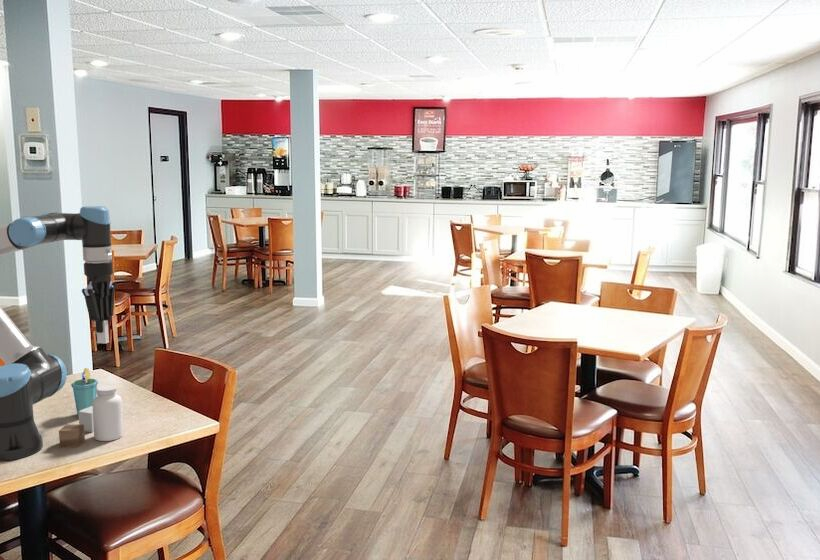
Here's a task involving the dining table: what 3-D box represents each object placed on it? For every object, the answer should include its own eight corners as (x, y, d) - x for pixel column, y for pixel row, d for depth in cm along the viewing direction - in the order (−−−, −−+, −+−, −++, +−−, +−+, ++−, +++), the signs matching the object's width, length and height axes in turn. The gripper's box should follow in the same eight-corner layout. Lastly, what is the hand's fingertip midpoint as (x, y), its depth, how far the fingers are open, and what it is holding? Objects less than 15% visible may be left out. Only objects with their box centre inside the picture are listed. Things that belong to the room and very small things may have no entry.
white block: (92, 432, 218) (91, 413, 217) (79, 430, 220) (78, 411, 219) (105, 427, 223) (103, 408, 222) (92, 424, 225) (91, 406, 224)
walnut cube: (78, 447, 207) (76, 430, 206) (60, 447, 207) (58, 430, 206) (84, 440, 212) (83, 424, 211) (67, 441, 212) (65, 424, 211)
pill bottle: (117, 442, 211) (114, 392, 208) (89, 441, 211) (86, 391, 209) (128, 432, 219) (125, 383, 216) (101, 431, 219) (98, 383, 216)
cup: (100, 420, 228) (97, 374, 226) (73, 424, 225) (69, 376, 223) (99, 406, 241) (96, 362, 238) (73, 409, 238) (70, 365, 235)
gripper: (95, 264, 199) (100, 349, 203) (123, 258, 212) (128, 338, 216) (71, 264, 201) (76, 347, 205) (100, 257, 214) (105, 336, 217)
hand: (103, 342), depth 210 cm, fingers closed
